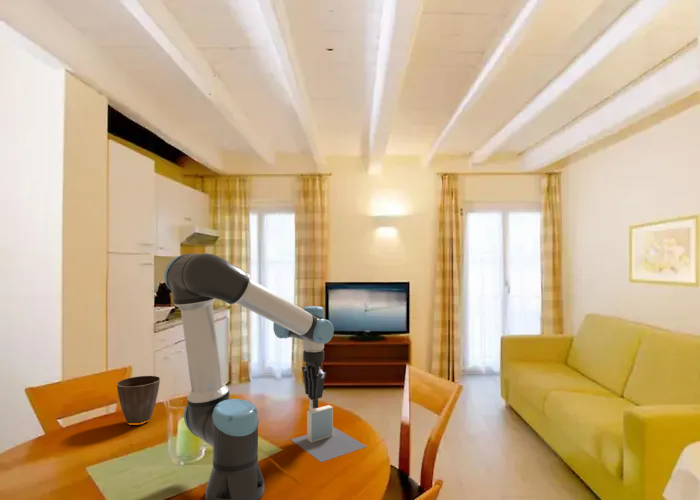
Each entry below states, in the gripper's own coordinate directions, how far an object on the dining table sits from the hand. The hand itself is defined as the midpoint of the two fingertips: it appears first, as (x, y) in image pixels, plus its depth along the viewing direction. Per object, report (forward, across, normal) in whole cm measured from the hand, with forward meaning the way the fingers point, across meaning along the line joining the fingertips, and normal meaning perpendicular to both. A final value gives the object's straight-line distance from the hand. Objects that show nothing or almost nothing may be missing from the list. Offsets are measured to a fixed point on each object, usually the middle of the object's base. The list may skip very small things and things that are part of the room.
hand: (313, 416), depth 147 cm
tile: (+6, -4, 0) cm, 7 cm away
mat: (+7, -9, 0) cm, 11 cm away
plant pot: (+7, +51, +48) cm, 70 cm away
